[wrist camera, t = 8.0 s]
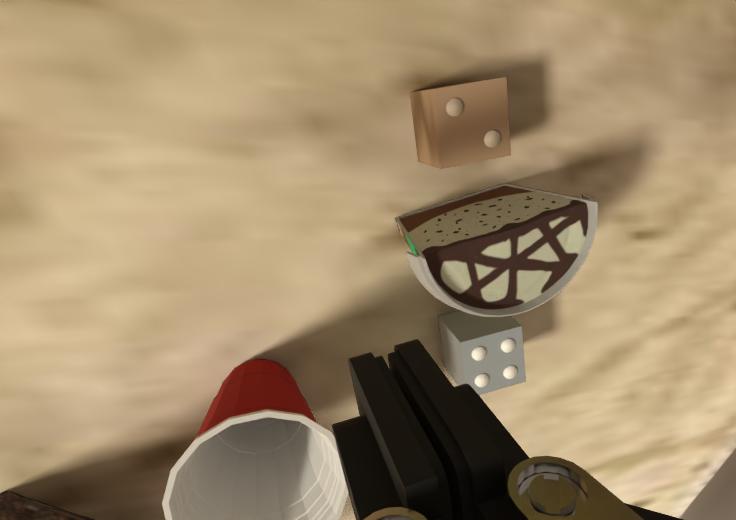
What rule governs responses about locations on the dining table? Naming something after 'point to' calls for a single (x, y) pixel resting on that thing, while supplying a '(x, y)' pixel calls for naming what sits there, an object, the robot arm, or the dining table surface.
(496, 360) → the slate-grey block
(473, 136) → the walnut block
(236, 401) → the plastic cup
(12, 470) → the dining table surface
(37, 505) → the stone block
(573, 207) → the food container
